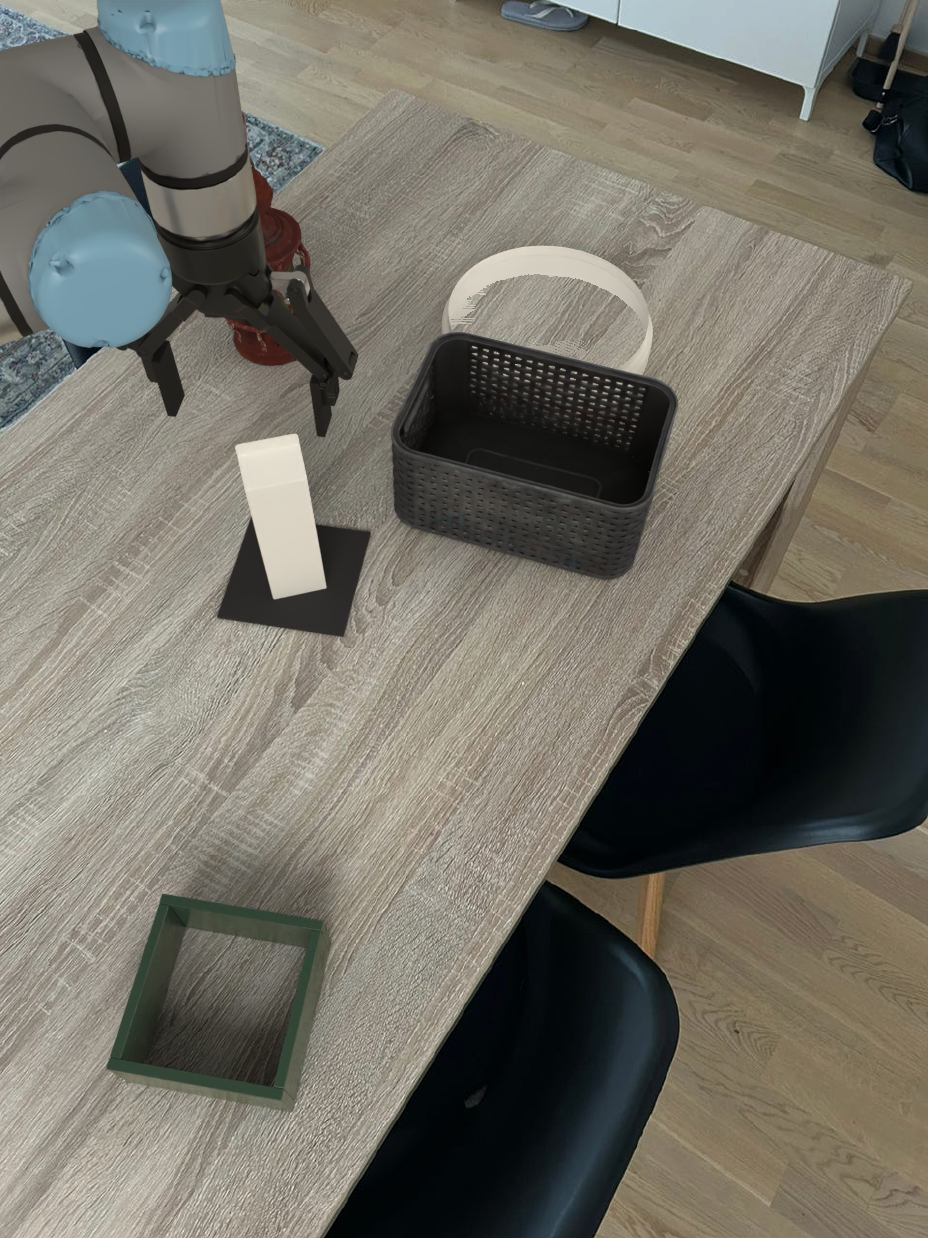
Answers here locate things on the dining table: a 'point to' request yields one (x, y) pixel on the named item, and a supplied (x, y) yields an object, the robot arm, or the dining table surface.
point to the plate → (542, 263)
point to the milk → (282, 514)
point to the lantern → (279, 251)
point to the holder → (155, 982)
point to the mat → (304, 611)
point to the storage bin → (530, 454)
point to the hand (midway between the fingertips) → (250, 415)
